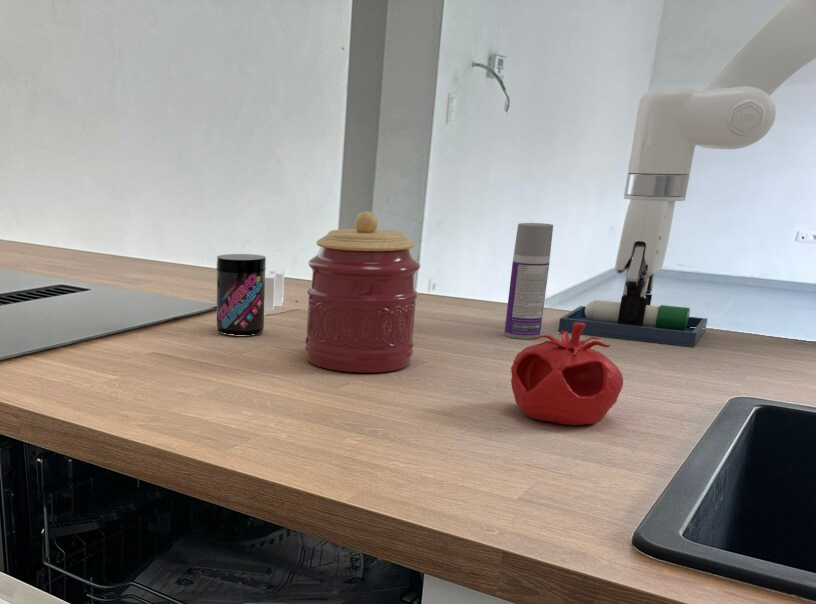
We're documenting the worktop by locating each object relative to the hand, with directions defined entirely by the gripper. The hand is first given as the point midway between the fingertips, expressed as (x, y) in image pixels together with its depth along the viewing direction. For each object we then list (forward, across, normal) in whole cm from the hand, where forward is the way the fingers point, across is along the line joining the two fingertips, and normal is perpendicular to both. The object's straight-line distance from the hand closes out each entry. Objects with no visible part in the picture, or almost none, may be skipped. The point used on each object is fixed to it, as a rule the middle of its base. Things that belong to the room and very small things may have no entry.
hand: (632, 322), depth 122 cm
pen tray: (+1, 0, 0) cm, 1 cm away
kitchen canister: (+2, +39, -24) cm, 46 cm away
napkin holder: (+2, +13, -53) cm, 54 cm away
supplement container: (+2, +33, -45) cm, 56 cm away
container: (+2, +12, -12) cm, 17 cm away
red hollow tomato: (+2, +48, +2) cm, 48 cm away
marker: (0, 0, 0) cm, 0 cm away
